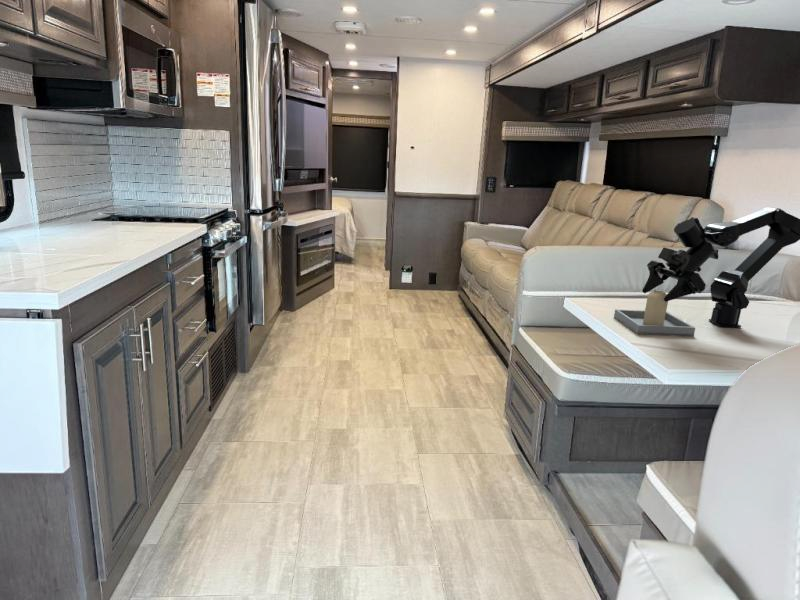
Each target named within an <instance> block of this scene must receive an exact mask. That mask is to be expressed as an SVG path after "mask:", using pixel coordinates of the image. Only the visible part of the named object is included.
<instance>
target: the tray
mask: <svg viewBox="0 0 800 600" xmlns="http://www.w3.org/2000/svg"><path fill="white" fill-rule="evenodd" d="M644 314H645V310H642V309H641V310H638V309H636V310H635V309H615V310H614V314H613V318H614V319H615V320H617V321H618V320H619V323H621V324H623V325H624V326H625V327H627V328H628V329H629V330H631V331H633V332H634V333H636V334H637V335H645V336H646V335H650V336H651V335H652V336H672V335H674V336H675V337H676V336H677V337H678V336H679V337H694V336H695V331H696V327H695V326H693V325H691V324H689V323H687V322H685V321H684V320H682V319H681V318H679V317H678V316H676V315H674V314H671V313H670V312H668V311H666V315H665V320H664V325H663V326H658V325H645V324H644V323H643V319H644Z"/></svg>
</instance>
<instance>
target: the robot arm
mask: <svg viewBox="0 0 800 600" xmlns="http://www.w3.org/2000/svg"><path fill="white" fill-rule="evenodd" d="M766 226H767V227H769V230H768V235H767V238H766V239H765V240H764V241H762V243H760V244H759V246H758V247H756V248H755V249H754V250H753V251H752V252H751V253H750V254H749V255H748V256H747V257H746V258H745V259H744V260H743V261H742V262H741V263H740V264H739V265H738V266H737V267H736V268H735V269H734V270H733V271H726V270H722V271H721V272H720V273H719V274H718V276H717V277H715V278H713V280H712V281H713V282H712V283H711V284H710V286H709V287H710V297H711V301H712V302H715V304H714V305H715V306H714V307H713V309H712V313H711V317H710V318H709V319H708V322H711V323H713V324H714V325H716V326H719V327H722V328H742V325H740V324H739V321H740V317H741V312H742V310H743V309H747V307H748V306H749V304H750V301H749V299H748V297H747V296H746V292H747V290H748V285H749V282H750V281H751V279H752V278H754V277H755V276H756V274H758V273H759V271H762V269H763V268H764V267H765V266H766V265H767V264H768V263H769V262H770V261H771V260H772V259H773V258H774V257H775V256H776V255H777V254H778V253H779V252H780V251H781V250H782V249H784V248H785V247H788V246H790V245H792V244H795V243H797V242H798V241H800V218H799V217H796V216H794V215H793V214H790V213H787V212H786V211H785V210H783V209H781V208H779V207H778V208H777V207H770V206H767V207H764V208H762V209H761V210H758V211H756V212H753V213H750V214H748V215H745V216H743V217H740V218H737V219H734V220H732V221H724V222H715V223H709V224H707V225H706V226H705V227H703V226H702V224H701V223H700V220H699V218H698V217H694V216H692V217H690V218H689V219H685V220H683V221H681V222H679V223H677V224H676V225H675V227H674V228H673V232H674V233H675V235H676V236H677V238H678V239H679V241H680V242H681V244H682V245H683V247H685V248H688V249H687V250H683V249H679V250H674V249H672V248H667V247H665V246H663V247H662V250H661V251H660V252H659V255H658V257H657V258H658V259H661V260H663V261H665V262H666V263H665V264H664V263H663V262H661V261H657V260H651V261H649V262H648V263H647V265H646V267H647V270H648V272H649V275H648V278H647V280H646V282H645V284H644V286H643V287H642V293H643V294H647V293H650V291H653V290H655V288H657V287H659V286H661V285H662V284H664V283H665V281H666V280H667V279H668V278H672V279H674V280H677V282H676V284H675V286H674V287H673V288H672V289H670V290H669V291H668V293H666V296H665V298H664V301H665V302H667V301H668V302H669V301H673V300H675V299H679V298H682V297H686V296H688V295H689V296H690V295H696V294H701V293H702V292H703V291H704V290H705V289H706V286H707V285H706V282H705V281H704V280H703V278H702V277H701V275H700V274H699V273H700V272H701V271H702V268H701V267H702V266H703V265H704V264H705V263H706V262H707V260H709V259H712V260H713V259H714V260H718V259H719V249H716V248H715V247H714V246H718V247H723V248H724V247H725V248H726V247H728V246H730V245H731V244H734V243H735V242H737V241H738V240H739V238H740V237H742V236H743V235H745V234H748V233H751V232H754V231H756V230H758V229H761V228H764V227H766ZM667 267H668V268H667Z"/></svg>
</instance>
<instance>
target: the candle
mask: <svg viewBox="0 0 800 600" xmlns="http://www.w3.org/2000/svg"><path fill="white" fill-rule="evenodd" d="M666 295H667V293H666V292H664V291H663V290H659V291H657V290H656V289H652V290H651V292H648V294H647V299H646V304H645V309H644V311H645V314H644V319H643V323H644V324H645V325H658V326H663V325H664V320H665V315H666V312H667V309H668V304H669V301H667V302H665V301H664V298H665V296H666Z"/></svg>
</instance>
